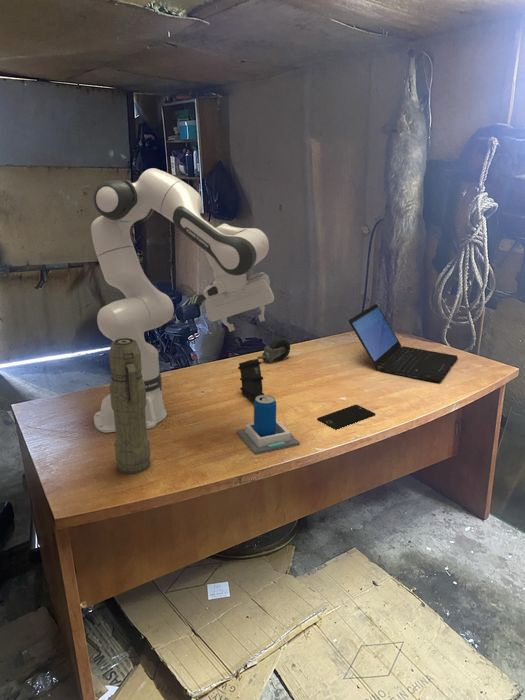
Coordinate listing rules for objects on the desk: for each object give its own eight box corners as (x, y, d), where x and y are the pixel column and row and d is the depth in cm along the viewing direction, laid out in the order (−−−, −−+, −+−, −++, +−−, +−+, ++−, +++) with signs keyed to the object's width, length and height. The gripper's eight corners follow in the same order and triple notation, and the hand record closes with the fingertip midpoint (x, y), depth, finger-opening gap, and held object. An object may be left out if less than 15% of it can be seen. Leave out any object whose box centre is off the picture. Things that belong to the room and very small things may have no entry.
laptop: (439, 385, 198) (445, 335, 191) (344, 366, 216) (347, 319, 209) (458, 359, 225) (464, 314, 219) (372, 343, 243) (376, 302, 236)
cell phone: (316, 420, 170) (316, 418, 170) (356, 406, 180) (356, 404, 180) (335, 431, 163) (335, 428, 163) (375, 416, 173) (376, 413, 173)
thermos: (127, 480, 136) (116, 351, 125) (109, 460, 145) (97, 338, 134) (159, 469, 141) (151, 344, 130) (139, 450, 150) (130, 332, 139)
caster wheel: (283, 357, 226) (253, 361, 218) (285, 335, 224) (255, 338, 215) (291, 361, 222) (261, 365, 213) (293, 339, 219) (263, 342, 211)
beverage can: (264, 428, 162) (264, 392, 158) (280, 435, 158) (281, 398, 154) (249, 436, 157) (249, 398, 153) (265, 443, 153) (265, 405, 149)
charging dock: (255, 454, 149) (255, 444, 148) (236, 432, 161) (236, 422, 160) (299, 444, 154) (299, 434, 153) (278, 424, 166) (278, 414, 165)
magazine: (258, 404, 176) (249, 360, 177) (243, 406, 188) (235, 364, 189) (268, 402, 177) (260, 358, 178) (252, 404, 189) (245, 362, 190)
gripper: (266, 268, 156) (280, 312, 160) (200, 290, 157) (215, 333, 161) (266, 271, 150) (281, 317, 154) (198, 294, 151) (214, 339, 155)
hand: (247, 325), depth 157 cm, fingers open, 8 cm apart
